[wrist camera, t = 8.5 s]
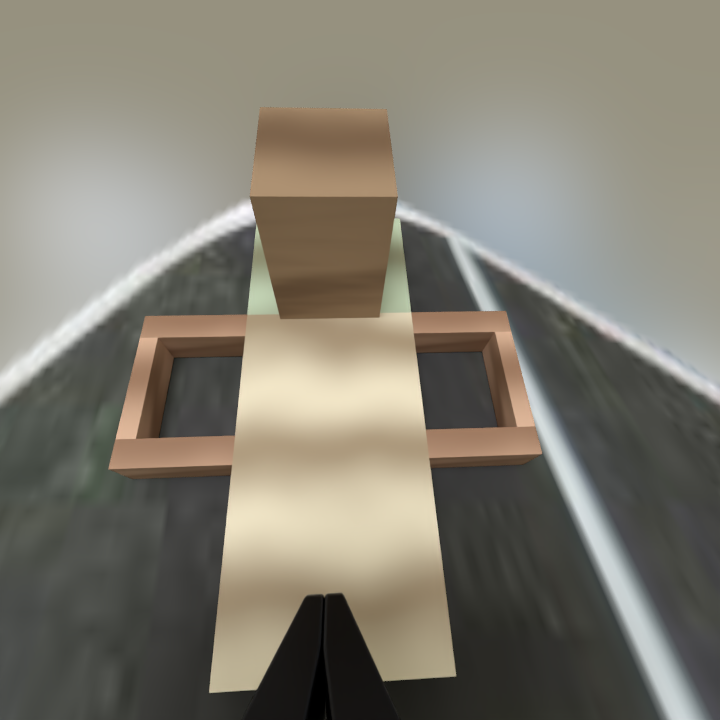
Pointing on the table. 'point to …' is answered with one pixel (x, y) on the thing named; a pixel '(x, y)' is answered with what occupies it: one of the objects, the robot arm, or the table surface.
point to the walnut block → (325, 208)
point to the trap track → (327, 465)
